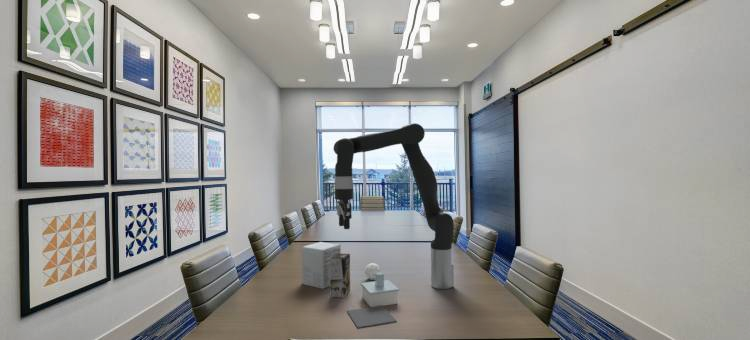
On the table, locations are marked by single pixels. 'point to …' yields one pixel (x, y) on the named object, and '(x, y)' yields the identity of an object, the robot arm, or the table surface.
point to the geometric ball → (372, 270)
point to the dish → (380, 298)
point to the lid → (379, 285)
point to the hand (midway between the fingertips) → (344, 227)
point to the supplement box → (318, 263)
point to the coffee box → (339, 275)
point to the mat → (371, 316)
